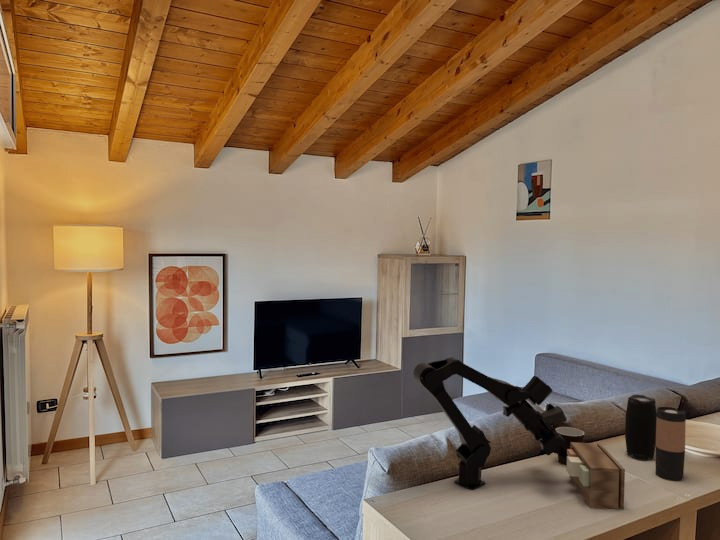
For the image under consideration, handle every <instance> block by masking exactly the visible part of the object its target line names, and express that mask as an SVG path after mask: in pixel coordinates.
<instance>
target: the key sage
mask: <svg viewBox="0 0 720 540" xmlns="http://www.w3.org/2000/svg"><path fill="white" fill-rule="evenodd" d="M579 480H580V482H581V483H582V485H583V486H589V480H590V469H589V467H588V466H586V465H579Z"/></svg>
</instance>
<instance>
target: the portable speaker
mask: <svg viewBox="0 0 720 540" xmlns="http://www.w3.org/2000/svg"><path fill="white" fill-rule="evenodd" d="M624 419H625V423H624V424H625V425H624V428H625V429H624V438H625V439H624V440H625V446H626V447H625V448H626V454H627V455H631V456H632V457H633V458H634V460H636V459H637V460H638V461H648V460H649V459H653V458H655V454H656V421H657V407H656V398H651V397H649V396H646V395H642V394H632V395H631V396H629V397H628V400H627V405H626V411H625V418H624Z"/></svg>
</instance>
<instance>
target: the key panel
mask: <svg viewBox="0 0 720 540" xmlns="http://www.w3.org/2000/svg"><path fill="white" fill-rule="evenodd" d="M570 449H574V450H575V451H576V457H581V459H582V460H583V465H586V466H588V467H589V469H590V480H589V486H583V485H582V483H581V482H580V480H579V477H574V476H570V475H569V479H570V480H571V482H572V483H573V485H574V486H575V488H576V489H577V490H578V492H579V493H580V495H581V496H582V498H583V499H584V501H585V502H586V504H587V506H588V507H589V508H591V509H607V510H619V509H620V510H624V509H625V484H626V483H625V477H626V476H625V475H626V471H625V470H626V469H625V468H624V467H623V466H622V464H621V463H620V462H618V460H617V459H615V458H614V457H613V455H612V454H611V453H610V452H609V451H608V450H607V449H606V448H605V447H604V446H603V445H602V444H601V443H598V442H597V443H594V442H593V443H592V442H591V443H590V442H583V443H577V442H570Z"/></svg>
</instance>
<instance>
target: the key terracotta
mask: <svg viewBox="0 0 720 540" xmlns="http://www.w3.org/2000/svg"><path fill="white" fill-rule="evenodd" d="M567 454H568V456H567V457H576V451H575V450H574V449H567Z"/></svg>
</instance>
